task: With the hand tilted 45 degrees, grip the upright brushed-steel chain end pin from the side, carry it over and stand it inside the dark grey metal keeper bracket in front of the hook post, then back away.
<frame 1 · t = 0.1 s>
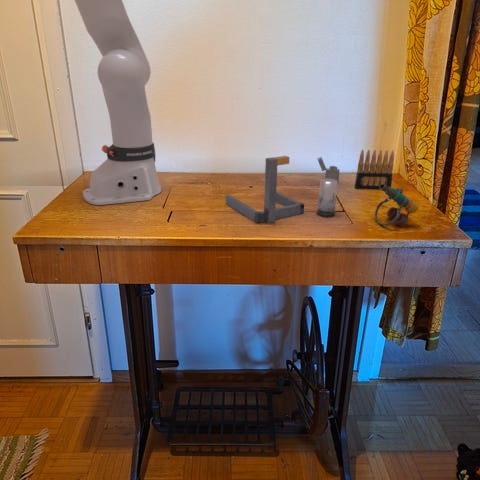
keeper: (262, 207, 119), on the table
binoculars: (393, 223, 110), on the table
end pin: (325, 214, 115), on the table
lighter: (326, 182, 141), on the table
ammunition clip: (372, 189, 135), on the table
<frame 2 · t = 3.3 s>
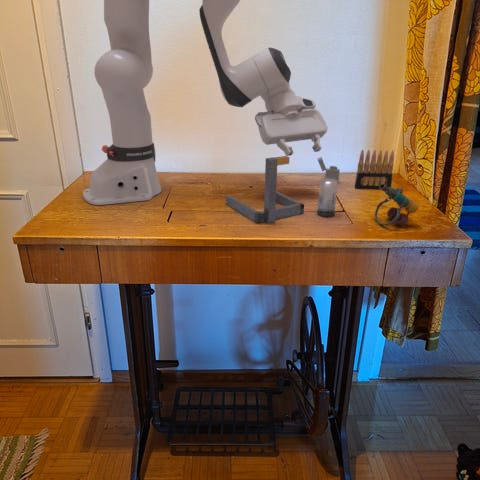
hand: (304, 152, 118), 14 cm above the table, tool tilted 45°, fingers open, 8 cm apart
nothing on the table moved.
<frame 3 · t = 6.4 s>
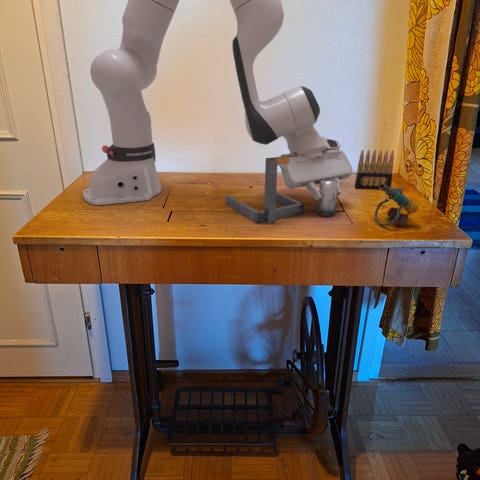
hand: (329, 196, 112), 5 cm above the table, tool tilted 45°, fingers closed on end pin, 4 cm apart
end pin: (325, 214, 115), on the table, touching gripper
everything else where it was.
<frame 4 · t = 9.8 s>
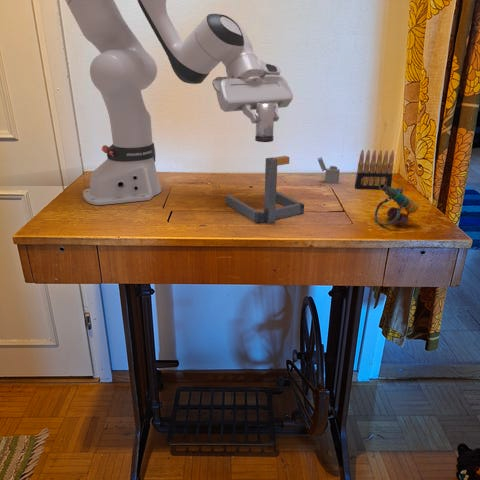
hand: (266, 121, 109), 23 cm above the table, tool tilted 45°, fingers closed on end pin, 4 cm apart
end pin: (264, 140, 111), point 18 cm above the table, touching gripper
everything else where it was.
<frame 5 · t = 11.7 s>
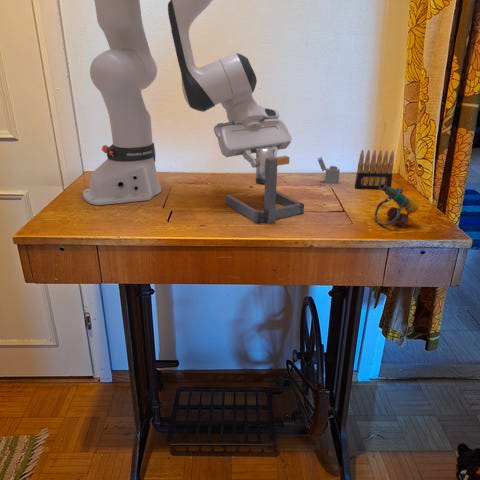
hand: (265, 164, 113), 12 cm above the table, tool tilted 45°, fingers closed on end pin, 4 cm apart
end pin: (264, 182, 116), point 7 cm above the table, touching gripper
everything else where it was.
when the fingers open (7 cm above the table, at t = 13.2 s): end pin drops 2 cm, resting in keeper.
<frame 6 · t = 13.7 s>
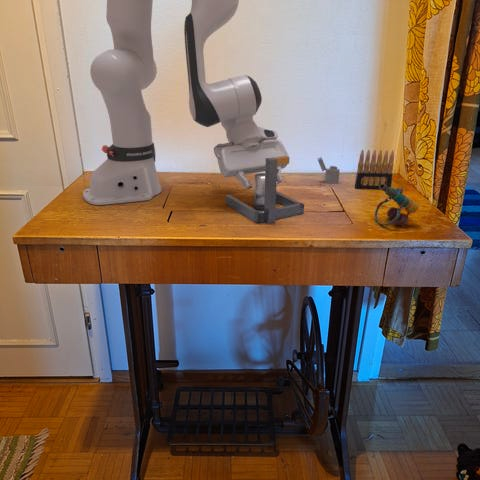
hand: (264, 185, 116), 7 cm above the table, tool tilted 45°, fingers open, 8 cm apart
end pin: (262, 207, 119), resting in keeper
everything else where it was.
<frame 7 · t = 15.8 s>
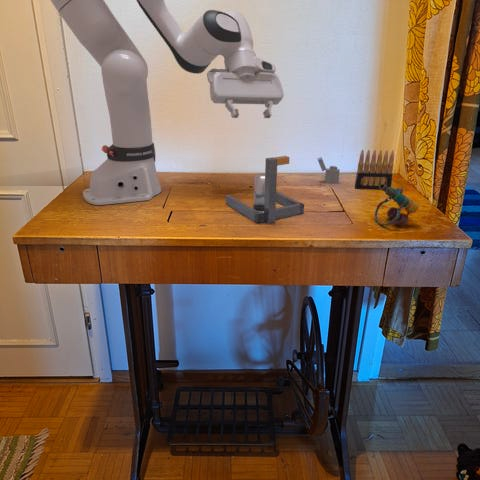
hand: (252, 117, 116), 23 cm above the table, tool tilted 35°, fingers open, 8 cm apart
nothing on the table moved.
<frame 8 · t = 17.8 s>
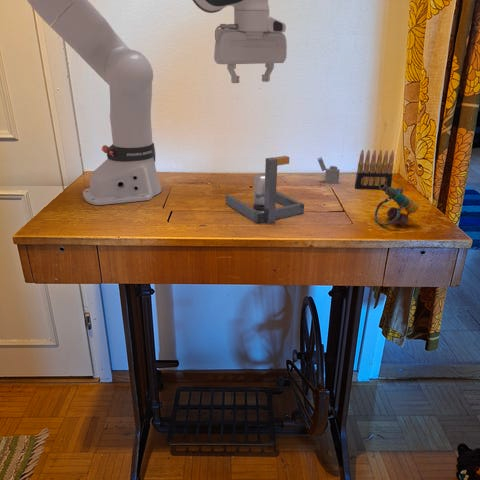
hand: (250, 82, 117), 31 cm above the table, tool pointing down, fingers open, 8 cm apart
nothing on the table moved.
at the end: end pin inside the target area on the keeper (0.3 cm from its centre), point 0.0 cm above the keeper's base; the gripper is holding nothing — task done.
